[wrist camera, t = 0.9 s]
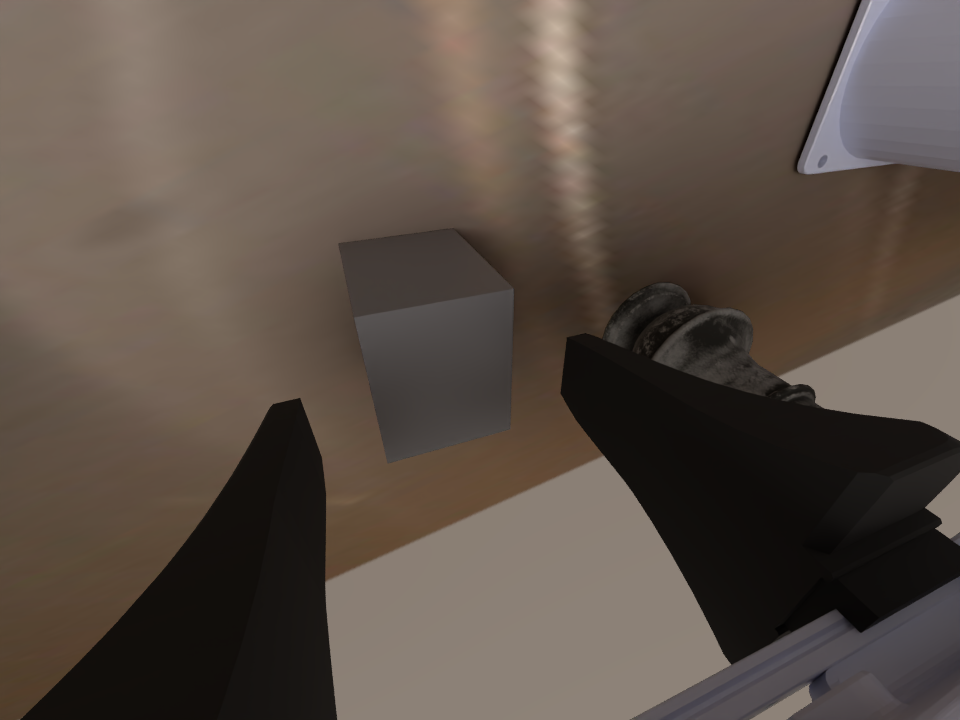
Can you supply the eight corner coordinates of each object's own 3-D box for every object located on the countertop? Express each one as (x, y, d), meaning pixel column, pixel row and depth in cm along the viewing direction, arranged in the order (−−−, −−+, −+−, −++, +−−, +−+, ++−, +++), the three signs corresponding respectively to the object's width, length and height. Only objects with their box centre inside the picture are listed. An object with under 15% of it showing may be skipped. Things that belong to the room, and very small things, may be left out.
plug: (452, 228, 15) (514, 288, 10) (460, 344, 17) (510, 429, 13) (338, 243, 14) (354, 317, 9) (366, 364, 16) (387, 463, 12)
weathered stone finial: (631, 392, 23) (848, 598, 14) (575, 347, 20) (814, 582, 11) (709, 314, 22) (1007, 486, 13) (664, 252, 18) (1028, 425, 9)
